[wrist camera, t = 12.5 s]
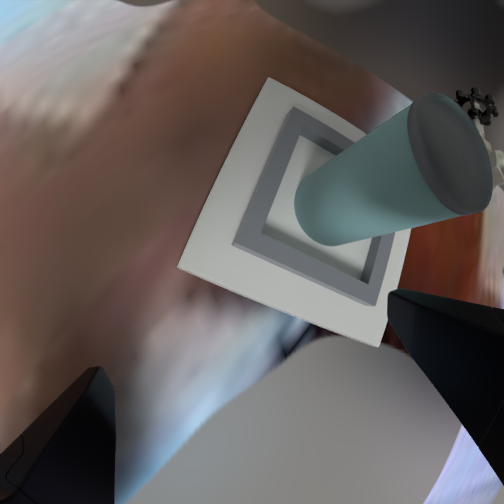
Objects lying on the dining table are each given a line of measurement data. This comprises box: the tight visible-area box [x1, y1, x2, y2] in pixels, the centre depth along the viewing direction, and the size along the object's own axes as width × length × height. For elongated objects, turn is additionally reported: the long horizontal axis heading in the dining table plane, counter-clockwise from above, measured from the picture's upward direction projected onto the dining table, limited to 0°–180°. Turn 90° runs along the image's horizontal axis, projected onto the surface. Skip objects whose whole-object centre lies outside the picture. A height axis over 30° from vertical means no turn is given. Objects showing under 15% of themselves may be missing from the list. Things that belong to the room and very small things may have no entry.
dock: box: [177, 77, 411, 347], centre depth 22 cm, size 16×16×2 cm
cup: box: [294, 92, 493, 246], centre depth 17 cm, size 6×6×12 cm
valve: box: [454, 87, 504, 190], centre depth 27 cm, size 7×7×12 cm
